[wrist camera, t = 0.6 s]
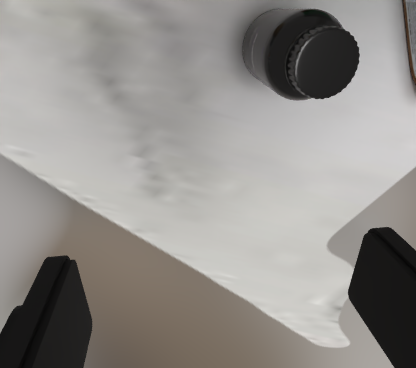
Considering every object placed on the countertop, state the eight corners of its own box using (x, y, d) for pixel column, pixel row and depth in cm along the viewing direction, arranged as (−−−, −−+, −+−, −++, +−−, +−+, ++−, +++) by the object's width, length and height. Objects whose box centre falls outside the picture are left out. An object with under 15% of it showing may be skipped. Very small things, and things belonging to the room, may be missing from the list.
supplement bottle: (227, 38, 31) (260, 50, 20) (287, -7, 30) (354, -20, 19) (261, 95, 34) (305, 130, 23) (316, 56, 33) (388, 75, 22)
